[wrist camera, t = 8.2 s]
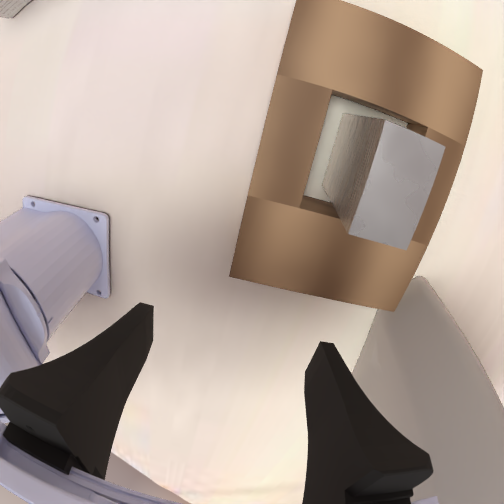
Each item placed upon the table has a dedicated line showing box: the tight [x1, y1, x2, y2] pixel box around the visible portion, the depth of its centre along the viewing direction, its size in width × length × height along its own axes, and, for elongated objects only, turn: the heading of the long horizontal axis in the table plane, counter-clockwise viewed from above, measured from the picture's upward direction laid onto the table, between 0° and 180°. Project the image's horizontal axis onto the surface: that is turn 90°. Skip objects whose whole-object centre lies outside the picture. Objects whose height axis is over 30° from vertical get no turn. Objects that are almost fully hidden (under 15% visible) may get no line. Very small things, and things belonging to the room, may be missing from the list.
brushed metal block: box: [322, 114, 445, 250], centre depth 15 cm, size 3×5×8 cm, turn 168°
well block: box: [229, 0, 483, 312], centre depth 17 cm, size 12×18×3 cm, turn 168°
